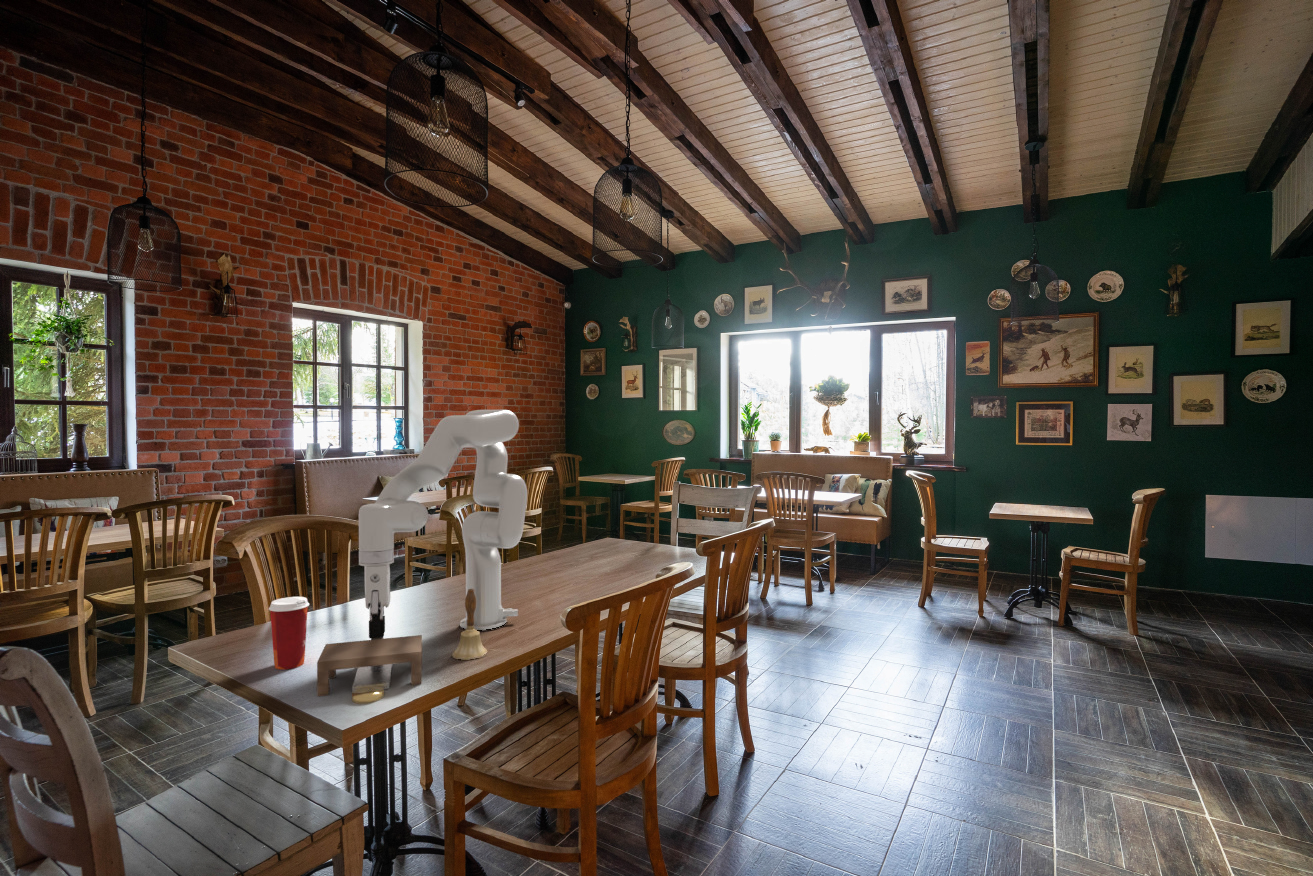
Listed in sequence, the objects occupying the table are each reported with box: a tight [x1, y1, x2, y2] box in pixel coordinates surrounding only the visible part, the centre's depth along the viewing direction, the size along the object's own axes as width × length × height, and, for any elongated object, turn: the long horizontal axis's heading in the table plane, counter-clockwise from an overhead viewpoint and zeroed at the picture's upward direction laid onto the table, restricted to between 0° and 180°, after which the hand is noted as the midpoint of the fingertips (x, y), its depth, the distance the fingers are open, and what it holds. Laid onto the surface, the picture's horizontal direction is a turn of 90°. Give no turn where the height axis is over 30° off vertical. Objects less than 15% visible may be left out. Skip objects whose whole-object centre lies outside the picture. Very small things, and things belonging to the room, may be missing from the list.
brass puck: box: [351, 686, 385, 705], centre depth 133 cm, size 6×6×2 cm
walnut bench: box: [316, 634, 423, 697], centre depth 143 cm, size 20×12×7 cm, turn 109°
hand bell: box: [451, 589, 488, 661], centre depth 159 cm, size 8×8×16 cm
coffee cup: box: [268, 596, 310, 671], centre depth 152 cm, size 8×8×15 cm
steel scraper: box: [351, 595, 394, 693], centre depth 145 cm, size 7×19×15 cm, turn 19°
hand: (377, 634), depth 153 cm, fingers closed on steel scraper, 2 cm apart
